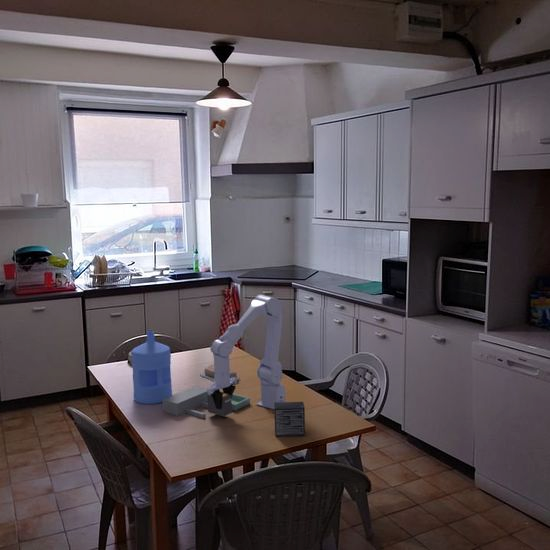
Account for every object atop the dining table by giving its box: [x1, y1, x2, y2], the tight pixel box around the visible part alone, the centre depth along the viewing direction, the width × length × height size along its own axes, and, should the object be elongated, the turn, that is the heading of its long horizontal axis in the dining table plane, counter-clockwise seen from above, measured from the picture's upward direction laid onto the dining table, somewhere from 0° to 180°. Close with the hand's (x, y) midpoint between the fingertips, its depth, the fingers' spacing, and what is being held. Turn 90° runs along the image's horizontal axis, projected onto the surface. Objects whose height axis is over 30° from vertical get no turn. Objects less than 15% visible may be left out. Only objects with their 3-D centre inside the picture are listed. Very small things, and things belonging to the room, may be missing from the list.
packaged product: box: [199, 364, 241, 382], centre depth 263 cm, size 18×5×10 cm
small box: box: [273, 401, 306, 438], centre depth 203 cm, size 11×6×10 cm, turn 92°
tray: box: [231, 393, 251, 412], centre depth 231 cm, size 13×9×2 cm
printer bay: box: [162, 386, 209, 419], centre depth 226 cm, size 18×18×5 cm
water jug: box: [131, 330, 173, 405], centre depth 237 cm, size 16×16×28 cm
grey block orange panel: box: [207, 393, 233, 417], centre depth 218 cm, size 8×4×7 cm, turn 54°
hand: (223, 406), depth 217 cm, fingers closed on grey block orange panel, 4 cm apart
